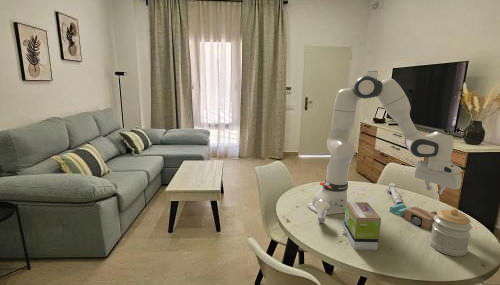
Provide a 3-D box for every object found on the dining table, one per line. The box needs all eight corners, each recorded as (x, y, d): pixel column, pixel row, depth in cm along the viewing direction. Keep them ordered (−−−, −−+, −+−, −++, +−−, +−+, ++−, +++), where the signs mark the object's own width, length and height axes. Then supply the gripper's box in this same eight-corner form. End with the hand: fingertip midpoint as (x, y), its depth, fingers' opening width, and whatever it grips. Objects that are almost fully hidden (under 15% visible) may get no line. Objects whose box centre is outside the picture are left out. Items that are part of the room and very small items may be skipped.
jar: (453, 260, 109) (462, 218, 105) (422, 243, 121) (428, 205, 117) (473, 253, 114) (482, 213, 110) (441, 236, 126) (448, 200, 122)
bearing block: (427, 230, 131) (429, 219, 130) (404, 219, 141) (405, 209, 140) (438, 226, 135) (439, 216, 133) (414, 216, 145) (415, 206, 144)
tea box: (342, 230, 129) (345, 201, 126) (364, 231, 129) (368, 201, 126) (353, 249, 115) (356, 216, 112) (378, 250, 114) (382, 217, 111)
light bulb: (320, 227, 132) (322, 204, 129) (310, 221, 138) (312, 198, 135) (331, 224, 135) (333, 201, 132) (321, 218, 141) (323, 195, 138)
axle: (418, 227, 134) (420, 220, 133) (410, 223, 138) (412, 216, 136) (437, 220, 141) (440, 214, 140) (430, 216, 145) (432, 209, 143)
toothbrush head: (395, 200, 154) (387, 180, 177) (393, 211, 157) (385, 189, 179) (405, 202, 153) (396, 181, 176) (403, 212, 155) (394, 190, 178)
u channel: (400, 216, 144) (401, 211, 144) (389, 211, 150) (389, 206, 149) (412, 212, 149) (413, 207, 148) (401, 207, 154) (402, 203, 154)
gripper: (413, 160, 143) (410, 185, 145) (457, 171, 125) (452, 200, 128) (421, 158, 145) (417, 183, 148) (465, 169, 128) (460, 198, 131)
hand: (434, 191), depth 138 cm, fingers open, 4 cm apart
